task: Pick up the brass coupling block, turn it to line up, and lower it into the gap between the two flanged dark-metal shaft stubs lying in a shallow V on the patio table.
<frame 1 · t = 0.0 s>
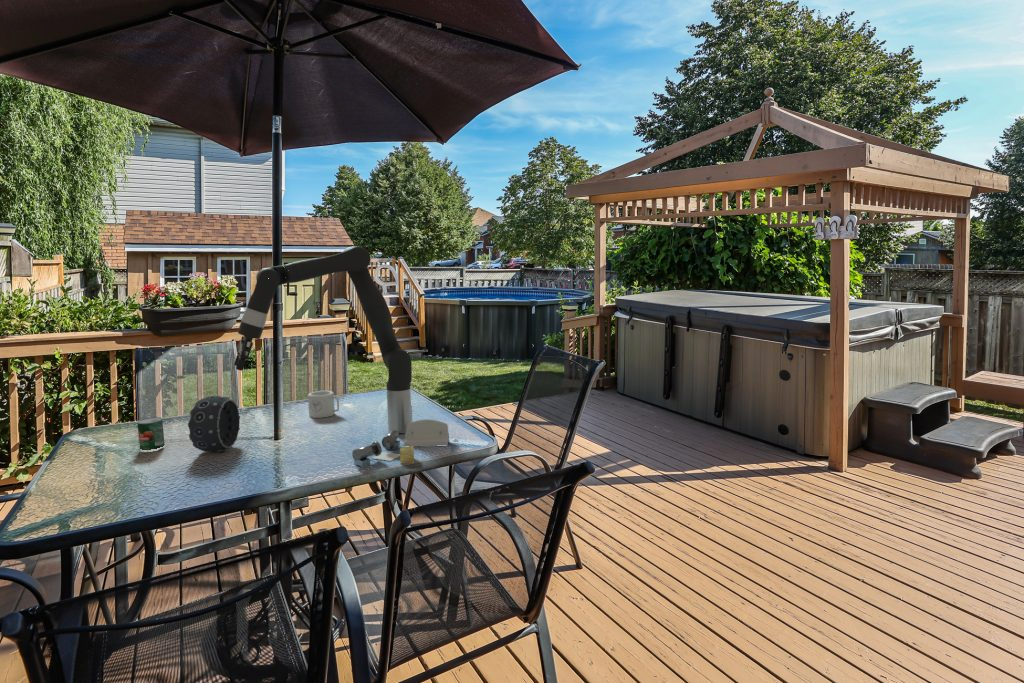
hand: (238, 367, 204), 31 cm above the table, tool tilted 20°, fingers open, 8 cm apart
mug: (325, 415, 260), on the table
dark grey drum piece: (217, 451, 215), on the table
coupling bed: (386, 457, 206), on the table
canned tomato: (152, 449, 217), on the table
coupling block: (407, 461, 202), on the table
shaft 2: (391, 449, 214), on the table
hinge: (427, 444, 220), on the table
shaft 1: (366, 463, 200), on the table
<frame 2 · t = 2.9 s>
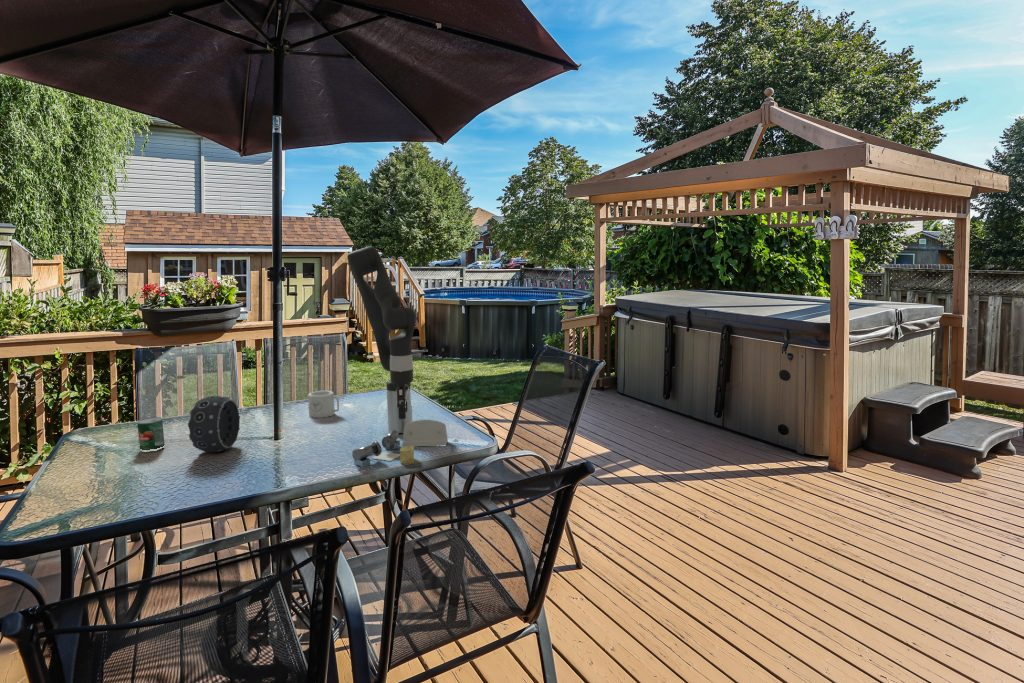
hand: (403, 415, 199), 16 cm above the table, tool pointing down, fingers open, 8 cm apart
nothing on the table moved.
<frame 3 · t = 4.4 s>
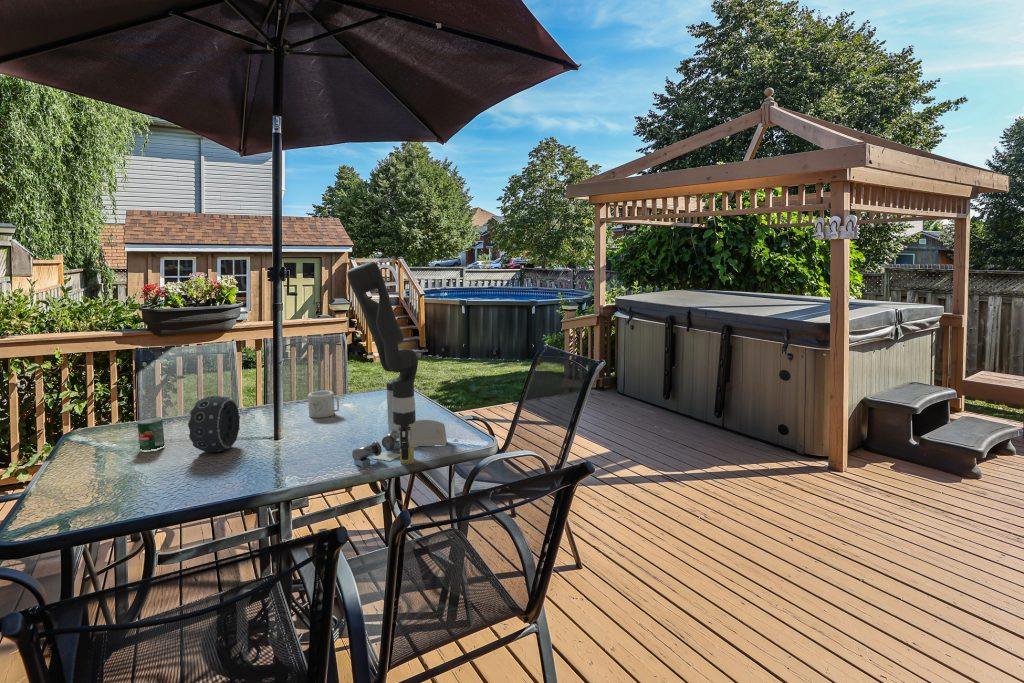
hand: (405, 455, 201), 2 cm above the table, tool pointing down, fingers open, 8 cm apart
nothing on the table moved.
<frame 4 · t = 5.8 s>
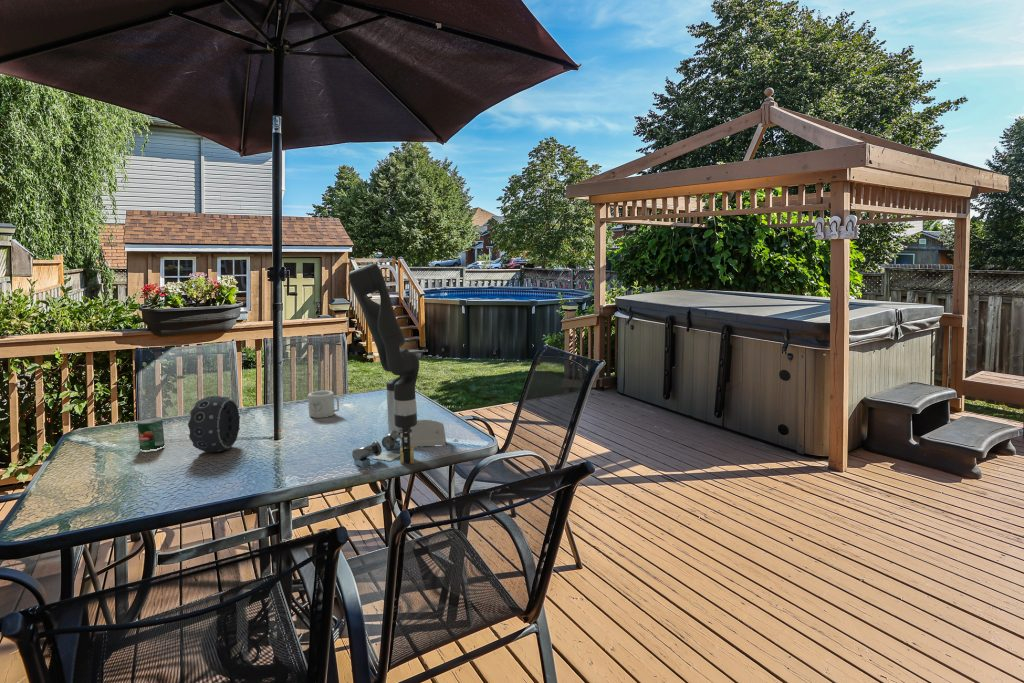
hand: (407, 459, 202), 0 cm above the table, tool pointing down, fingers closed on coupling block, 4 cm apart
coupling block: (407, 461, 202), on the table, touching gripper
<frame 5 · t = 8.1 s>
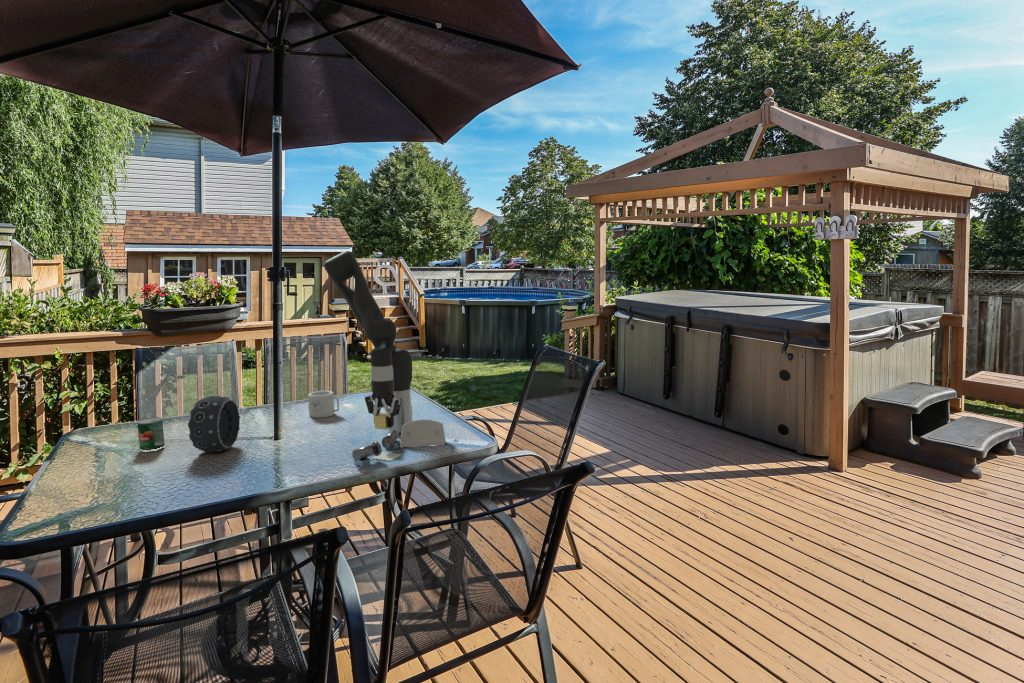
hand: (384, 426, 204), 11 cm above the table, tool pointing down, fingers closed on coupling block, 4 cm apart
coupling block: (384, 427, 204), point 11 cm above the table, touching gripper
when the fingers open (2 cm above the table, at t = 10.4 s): coupling block drops 1 cm, resting on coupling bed.
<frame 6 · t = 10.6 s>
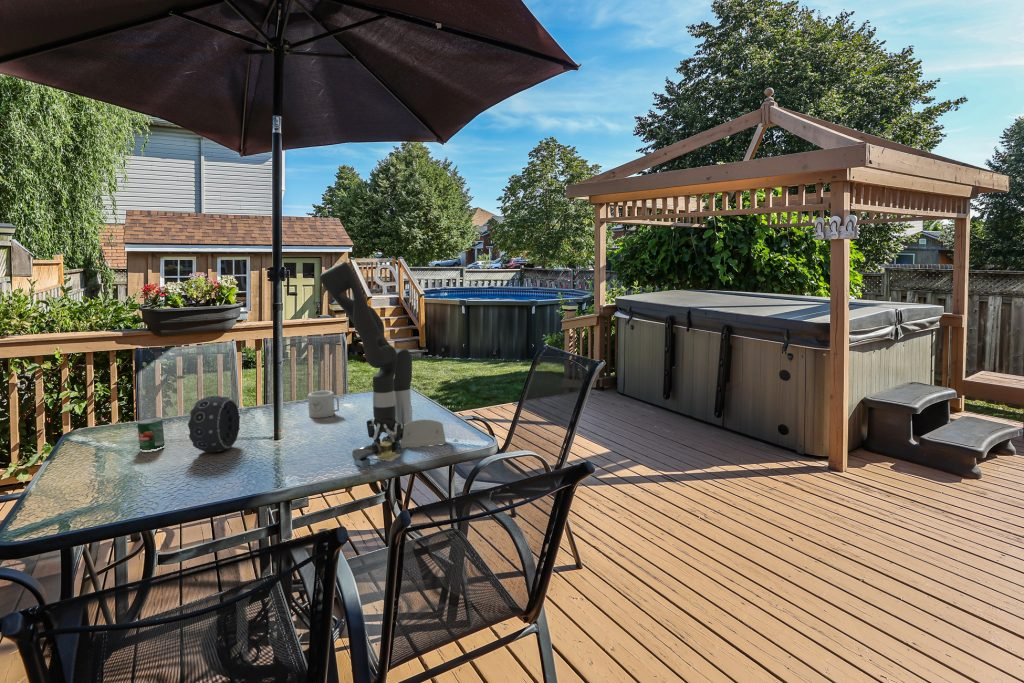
hand: (386, 450, 205), 2 cm above the table, tool pointing down, fingers open, 6 cm apart
coupling block: (386, 456, 206), resting on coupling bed
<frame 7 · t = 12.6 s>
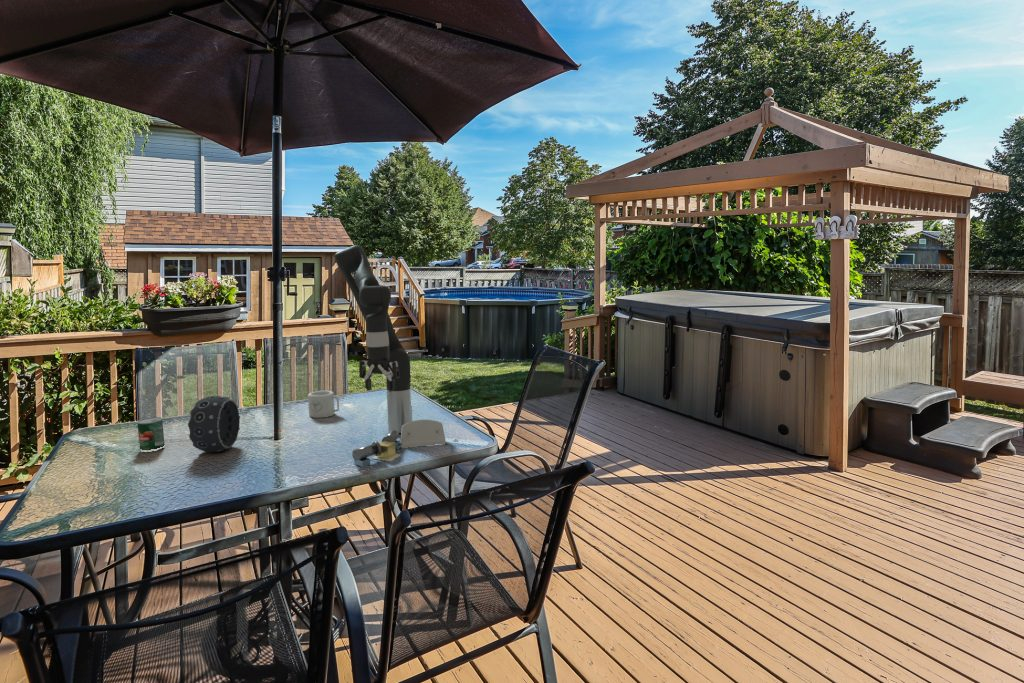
hand: (380, 390, 205), 23 cm above the table, tool pointing down, fingers open, 8 cm apart
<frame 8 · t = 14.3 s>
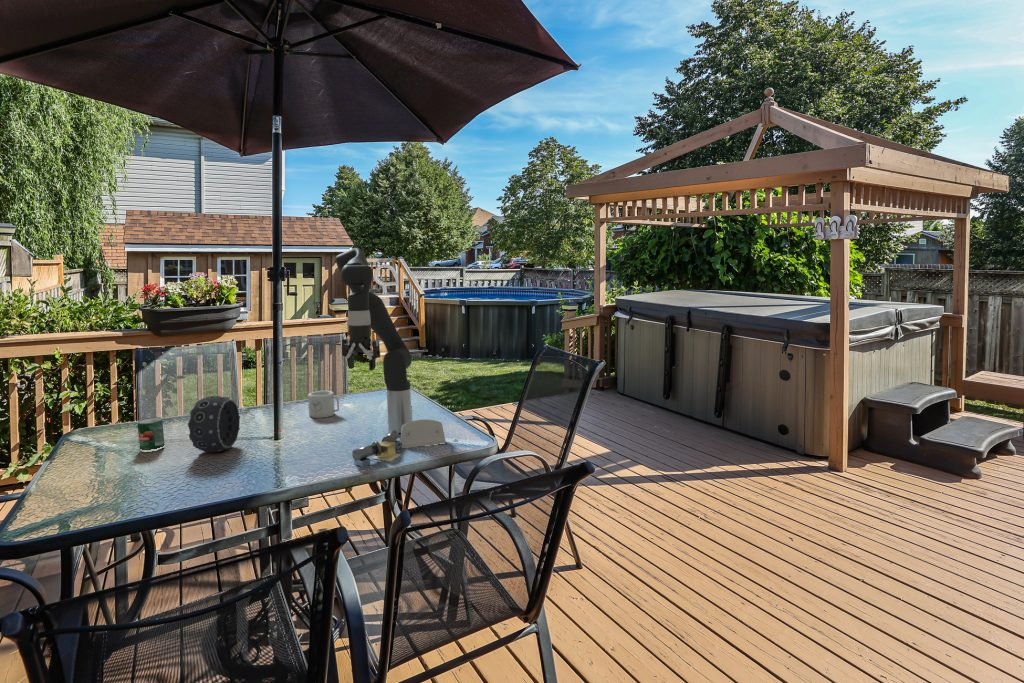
hand: (361, 369, 207), 30 cm above the table, tool pointing down, fingers open, 8 cm apart
at the end: coupling block 0.0 cm off-centre on the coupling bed, point 0.3 cm above the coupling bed's base; coupling block tilted 0°; the gripper is holding nothing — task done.
